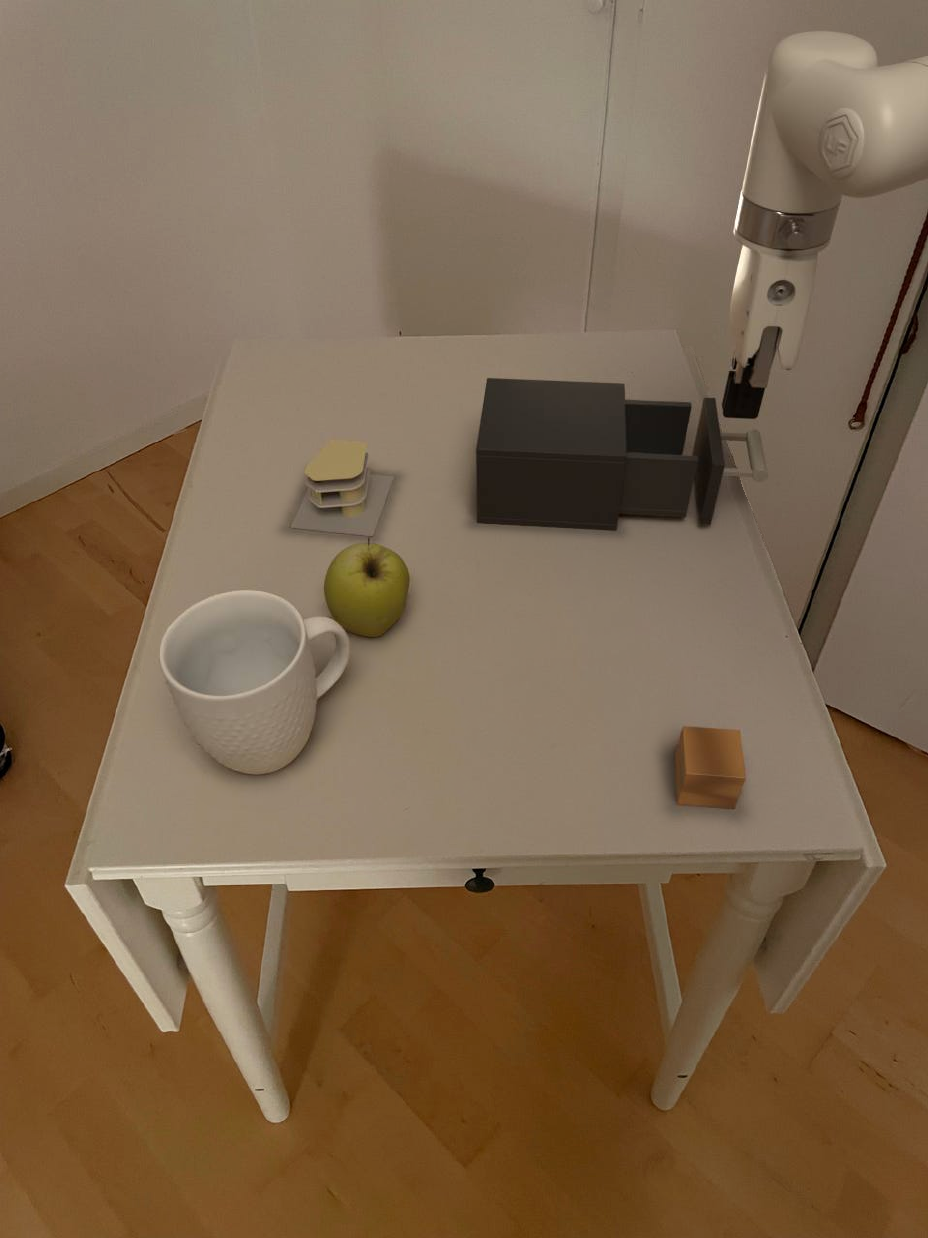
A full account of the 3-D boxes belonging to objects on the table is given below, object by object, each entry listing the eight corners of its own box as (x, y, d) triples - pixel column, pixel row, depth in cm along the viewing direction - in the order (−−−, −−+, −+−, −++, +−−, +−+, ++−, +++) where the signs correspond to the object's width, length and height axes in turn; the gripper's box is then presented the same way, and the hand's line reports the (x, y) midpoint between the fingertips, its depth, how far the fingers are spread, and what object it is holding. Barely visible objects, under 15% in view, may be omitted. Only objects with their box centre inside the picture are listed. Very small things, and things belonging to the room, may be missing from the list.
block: (729, 762, 76) (740, 730, 72) (734, 809, 73) (746, 778, 69) (674, 758, 76) (682, 725, 73) (677, 805, 73) (686, 773, 70)
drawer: (747, 459, 101) (763, 399, 96) (759, 527, 94) (777, 466, 88) (580, 451, 103) (586, 392, 97) (579, 518, 95) (584, 457, 90)
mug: (320, 651, 85) (299, 546, 75) (391, 724, 79) (377, 622, 69) (175, 735, 78) (131, 634, 69) (239, 823, 73) (201, 725, 63)
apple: (309, 594, 88) (327, 513, 82) (388, 596, 91) (412, 518, 85) (322, 654, 83) (342, 574, 76) (405, 654, 86) (432, 576, 79)
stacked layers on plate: (316, 469, 103) (309, 428, 99) (394, 476, 102) (390, 436, 98) (290, 528, 96) (281, 487, 92) (373, 536, 95) (368, 495, 91)
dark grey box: (615, 456, 104) (624, 383, 97) (616, 530, 95) (626, 456, 88) (487, 450, 105) (486, 377, 98) (476, 523, 96) (476, 448, 89)
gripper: (850, 263, 67) (790, 464, 81) (819, 180, 77) (770, 371, 91) (746, 259, 68) (703, 460, 81) (729, 178, 78) (693, 368, 91)
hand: (739, 412), depth 86 cm, fingers closed
